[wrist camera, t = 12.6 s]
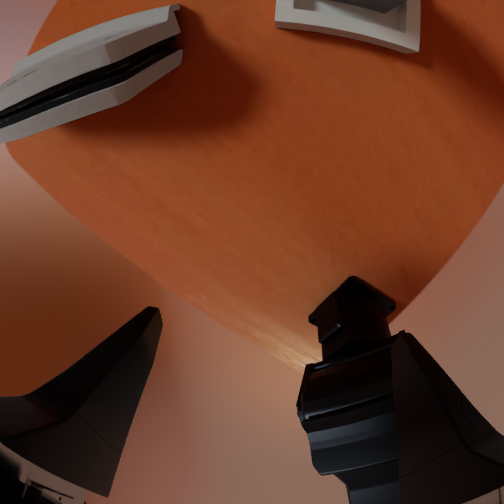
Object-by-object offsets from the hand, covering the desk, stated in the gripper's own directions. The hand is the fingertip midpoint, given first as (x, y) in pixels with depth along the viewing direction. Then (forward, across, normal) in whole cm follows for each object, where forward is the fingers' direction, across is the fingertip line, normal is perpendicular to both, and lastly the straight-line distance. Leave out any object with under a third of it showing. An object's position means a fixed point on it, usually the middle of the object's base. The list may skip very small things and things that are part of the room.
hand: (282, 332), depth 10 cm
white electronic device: (+13, +16, -10) cm, 23 cm away
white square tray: (+13, -3, -16) cm, 21 cm away
